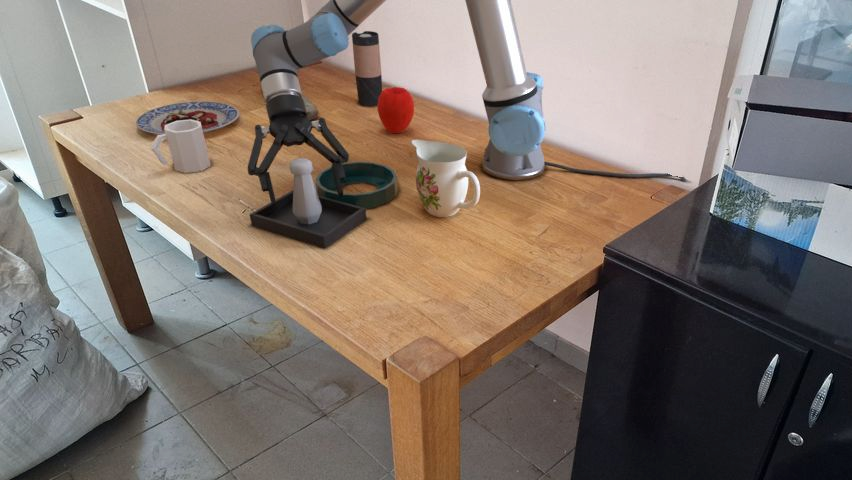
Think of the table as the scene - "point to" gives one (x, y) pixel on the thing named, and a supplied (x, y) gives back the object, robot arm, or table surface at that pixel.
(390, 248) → the table surface
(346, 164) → the teal ring
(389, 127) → the red vase
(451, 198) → the pitcher
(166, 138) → the mug
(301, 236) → the tray
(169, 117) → the ceramic plate
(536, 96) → the robot arm
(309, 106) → the elongated rock
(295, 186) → the salt shaker
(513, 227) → the table surface
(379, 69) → the travel mug
